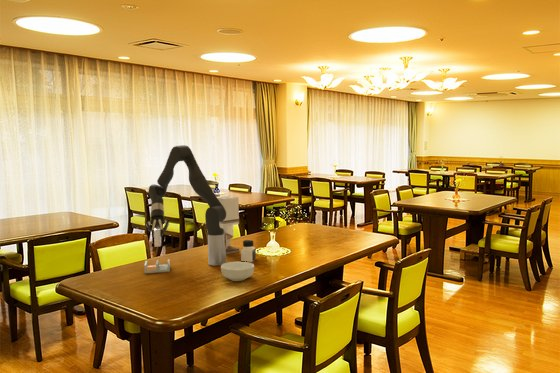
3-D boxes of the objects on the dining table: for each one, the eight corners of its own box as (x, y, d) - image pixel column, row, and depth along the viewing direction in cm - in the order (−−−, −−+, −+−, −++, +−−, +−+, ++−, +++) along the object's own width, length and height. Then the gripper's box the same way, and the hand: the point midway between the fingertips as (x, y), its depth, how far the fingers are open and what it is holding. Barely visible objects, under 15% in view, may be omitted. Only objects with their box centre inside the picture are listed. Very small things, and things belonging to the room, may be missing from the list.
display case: (224, 254, 282) (223, 198, 278) (215, 251, 290) (213, 197, 286) (239, 251, 289) (238, 197, 286) (229, 248, 297) (228, 195, 294)
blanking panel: (154, 242, 264) (154, 226, 261) (161, 242, 265) (160, 226, 262) (154, 246, 258) (153, 230, 256) (160, 246, 259) (160, 229, 256)
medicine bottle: (252, 262, 263) (252, 241, 262) (240, 261, 264) (240, 241, 263) (255, 259, 270) (255, 239, 269) (244, 258, 271) (244, 238, 270)
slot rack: (145, 267, 252) (145, 260, 252) (169, 266, 255) (169, 259, 255) (144, 273, 242) (144, 265, 241) (169, 271, 245) (169, 263, 244)
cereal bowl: (240, 285, 219) (240, 271, 218) (214, 280, 228) (214, 266, 227) (260, 277, 233) (260, 263, 233) (235, 272, 242) (234, 259, 241)
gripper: (144, 209, 265) (144, 233, 254) (169, 208, 268) (170, 232, 257) (145, 216, 271) (145, 240, 260) (169, 215, 274) (170, 239, 263)
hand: (157, 236), depth 259 cm, fingers closed on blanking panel, 3 cm apart
